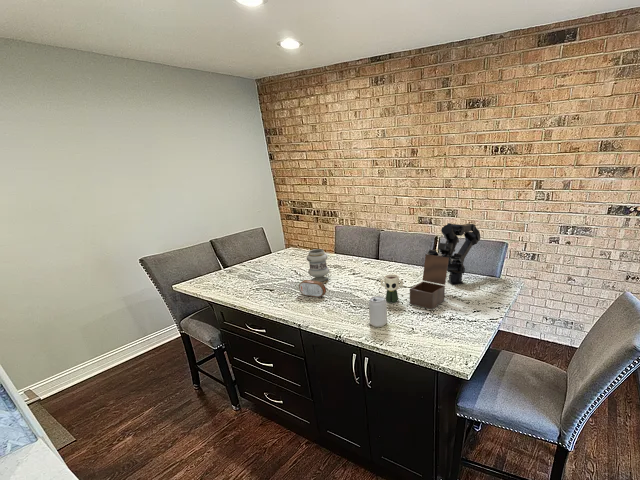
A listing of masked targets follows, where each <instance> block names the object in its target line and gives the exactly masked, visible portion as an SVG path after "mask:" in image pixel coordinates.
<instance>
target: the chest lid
mask: <svg viewBox="0 0 640 480" xmlns="http://www.w3.org/2000/svg"><path fill="white" fill-rule="evenodd" d="M448 261H449V258H447V257H441V256H434V255H428V253H426V254H425V257H424V265H423V273H422V282H428V283H433V284H438V285H443V286H446V282H447V274H448V271H447V268H448Z"/></svg>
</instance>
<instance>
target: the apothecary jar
mask: <svg viewBox="0 0 640 480" xmlns="http://www.w3.org/2000/svg"><path fill="white" fill-rule="evenodd" d="M327 259H328V255H327V253H325V251H324V249H321V248H315V249H311V250H309V251H308V254H307V255H306V261H307V262H308V265H309V269H308V271H307V273H308V275H309V276H311V277H312V278H311V280H312V281H319V282H321V283H323V284H324V283H326V282H328V281H329V278H328V277H326V276H327V275H329V273H330V268H329V267H328V266H327Z"/></svg>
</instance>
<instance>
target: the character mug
mask: <svg viewBox="0 0 640 480" xmlns="http://www.w3.org/2000/svg"><path fill="white" fill-rule="evenodd" d="M403 285H404V282H403V279H400V277H399V275H398V274H395V273H394V274H393V273H392V274H391V273H390V274H389V273H388V274H386V275H384V278H383V279H380V286H381V287H384V289H385V290H386V294H385V300H386V303H391V302H392V303H396V302H398V301H399V295H398V289H399V288H400V287H403Z"/></svg>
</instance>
